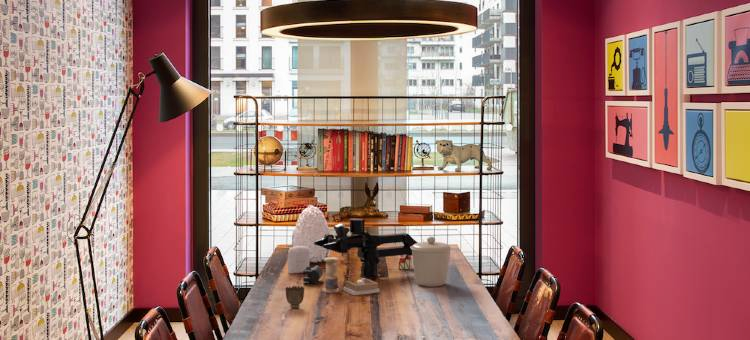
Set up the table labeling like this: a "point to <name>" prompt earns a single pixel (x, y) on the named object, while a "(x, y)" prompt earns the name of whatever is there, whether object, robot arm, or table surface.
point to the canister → (430, 262)
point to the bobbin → (331, 275)
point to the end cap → (312, 275)
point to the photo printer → (298, 259)
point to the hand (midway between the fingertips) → (318, 244)
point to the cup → (294, 296)
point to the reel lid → (360, 281)
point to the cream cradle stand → (361, 287)
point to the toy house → (405, 262)
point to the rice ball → (311, 233)
